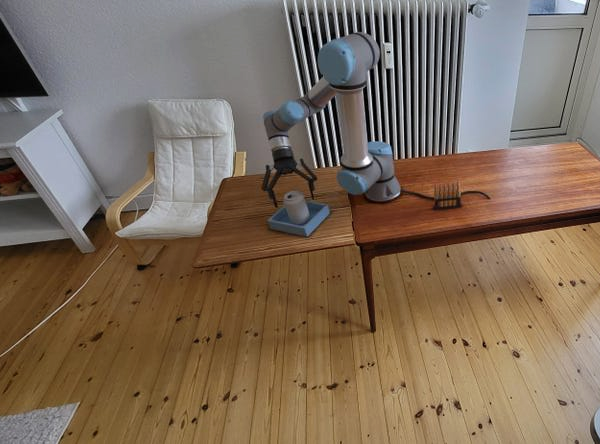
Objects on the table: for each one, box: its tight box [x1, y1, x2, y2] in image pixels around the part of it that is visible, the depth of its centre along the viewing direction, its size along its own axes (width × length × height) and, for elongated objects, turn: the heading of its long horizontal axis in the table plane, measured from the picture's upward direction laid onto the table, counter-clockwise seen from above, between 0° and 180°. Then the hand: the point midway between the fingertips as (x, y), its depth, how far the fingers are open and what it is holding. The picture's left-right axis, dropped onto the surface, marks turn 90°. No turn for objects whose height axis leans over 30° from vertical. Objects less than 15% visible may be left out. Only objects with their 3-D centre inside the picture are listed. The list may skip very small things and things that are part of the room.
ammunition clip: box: [433, 181, 462, 211], centre depth 148 cm, size 11×2×12 cm, turn 98°
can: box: [282, 190, 310, 225], centre depth 143 cm, size 8×8×12 cm
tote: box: [267, 200, 331, 238], centre depth 146 cm, size 17×16×4 cm
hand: (295, 203), depth 143 cm, fingers open, 13 cm apart
